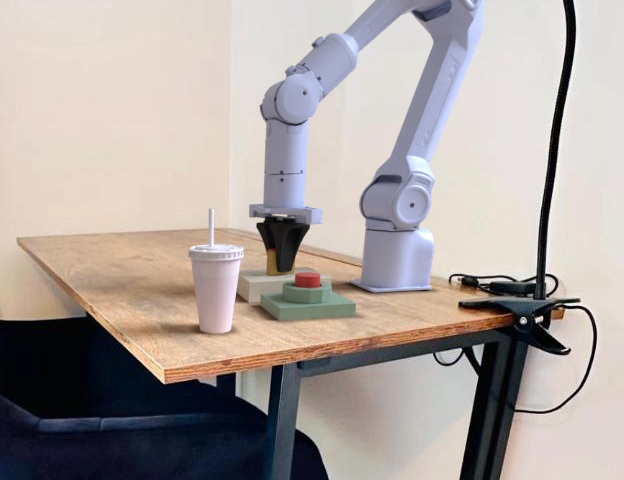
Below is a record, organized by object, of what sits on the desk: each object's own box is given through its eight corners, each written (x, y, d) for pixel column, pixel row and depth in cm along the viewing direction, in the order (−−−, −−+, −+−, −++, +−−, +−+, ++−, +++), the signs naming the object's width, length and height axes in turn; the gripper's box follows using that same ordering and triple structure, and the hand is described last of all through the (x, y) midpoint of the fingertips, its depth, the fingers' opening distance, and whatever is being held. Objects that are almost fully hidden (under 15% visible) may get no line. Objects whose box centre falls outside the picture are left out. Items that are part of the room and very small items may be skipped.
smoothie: (190, 321, 69) (189, 207, 65) (241, 322, 69) (244, 205, 64) (187, 336, 63) (185, 211, 59) (243, 337, 63) (246, 210, 58)
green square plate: (329, 301, 77) (331, 277, 76) (355, 316, 70) (357, 289, 69) (260, 305, 76) (260, 280, 75) (279, 321, 69) (280, 293, 68)
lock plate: (306, 285, 88) (307, 265, 87) (330, 298, 79) (331, 276, 78) (233, 289, 86) (233, 269, 85) (249, 303, 78) (249, 280, 77)
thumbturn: (289, 271, 83) (290, 246, 82) (294, 272, 82) (296, 247, 81) (266, 274, 82) (267, 249, 80) (271, 275, 80) (272, 250, 79)
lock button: (313, 284, 74) (314, 271, 73) (323, 289, 71) (324, 276, 70) (290, 285, 73) (291, 272, 73) (299, 290, 70) (300, 277, 70)
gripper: (232, 174, 82) (231, 266, 86) (294, 175, 69) (289, 281, 74) (272, 173, 85) (268, 261, 89) (338, 173, 72) (330, 276, 77)
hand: (280, 270), depth 82 cm, fingers closed on thumbturn
